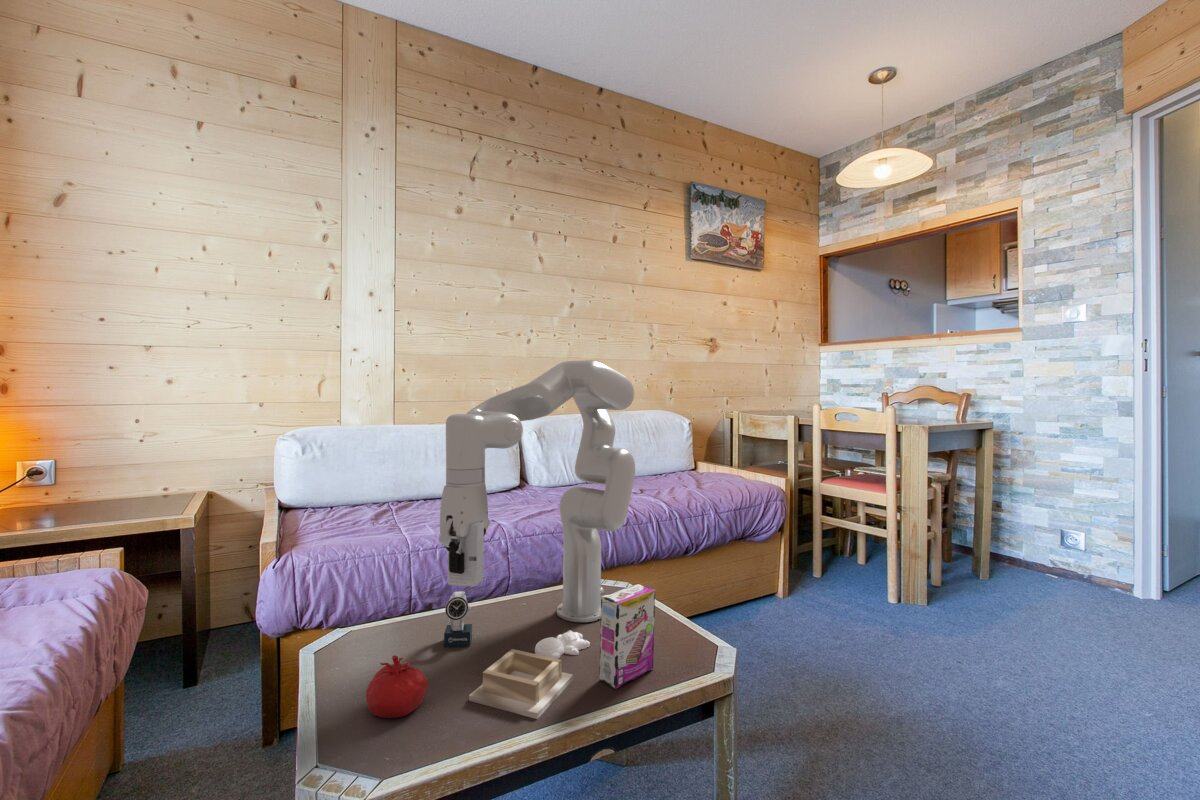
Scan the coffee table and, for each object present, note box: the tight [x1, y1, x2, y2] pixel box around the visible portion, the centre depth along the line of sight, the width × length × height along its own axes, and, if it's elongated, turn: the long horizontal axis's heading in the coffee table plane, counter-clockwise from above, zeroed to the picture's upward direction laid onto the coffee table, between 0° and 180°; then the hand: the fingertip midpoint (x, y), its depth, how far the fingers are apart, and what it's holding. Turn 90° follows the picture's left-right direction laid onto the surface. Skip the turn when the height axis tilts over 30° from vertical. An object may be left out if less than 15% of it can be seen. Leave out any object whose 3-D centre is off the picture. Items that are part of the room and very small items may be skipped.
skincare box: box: [447, 521, 485, 587], centre depth 109 cm, size 6×4×12 cm
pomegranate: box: [365, 654, 428, 719], centre depth 96 cm, size 10×10×9 cm
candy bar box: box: [598, 584, 656, 689], centre depth 108 cm, size 11×5×16 cm, turn 134°
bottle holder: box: [468, 648, 574, 720], centre depth 103 cm, size 14×14×4 cm
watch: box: [443, 591, 473, 649], centre depth 122 cm, size 6×8×11 cm
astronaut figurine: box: [534, 630, 591, 659], centre depth 120 cm, size 9×12×3 cm
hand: (466, 567), depth 109 cm, fingers closed on skincare box, 5 cm apart
